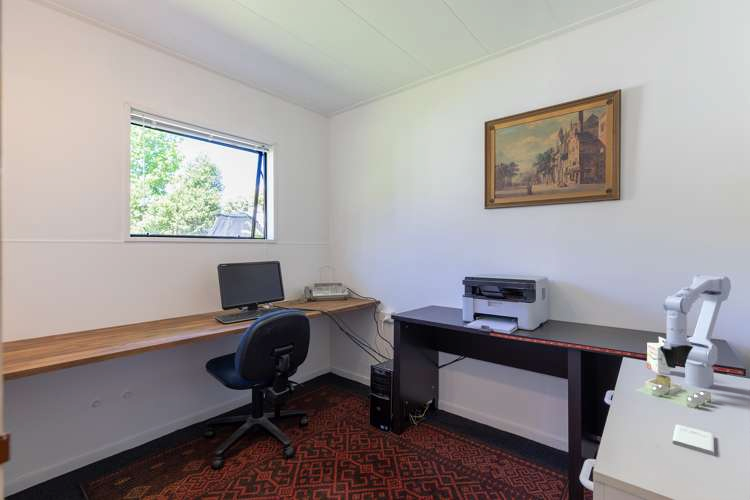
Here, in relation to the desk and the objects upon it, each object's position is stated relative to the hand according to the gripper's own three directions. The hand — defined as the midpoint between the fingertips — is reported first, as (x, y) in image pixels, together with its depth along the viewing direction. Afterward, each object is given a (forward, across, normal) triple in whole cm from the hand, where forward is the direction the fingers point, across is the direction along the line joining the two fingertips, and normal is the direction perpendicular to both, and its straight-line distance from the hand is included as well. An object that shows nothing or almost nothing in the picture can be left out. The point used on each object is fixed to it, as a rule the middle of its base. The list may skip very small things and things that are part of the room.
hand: (676, 365), depth 130 cm
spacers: (+9, -7, -4) cm, 12 cm away
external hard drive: (+11, -36, -18) cm, 41 cm away
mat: (+10, -5, -2) cm, 11 cm away
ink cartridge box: (+10, +20, +14) cm, 26 cm away
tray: (+9, -2, +4) cm, 10 cm away
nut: (+9, -2, +4) cm, 10 cm away
